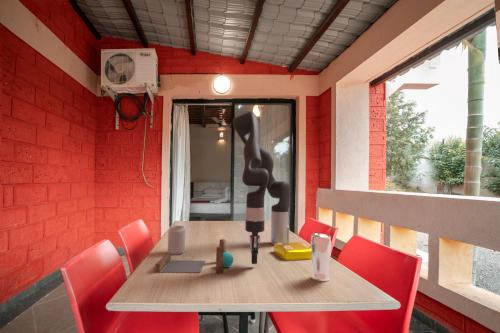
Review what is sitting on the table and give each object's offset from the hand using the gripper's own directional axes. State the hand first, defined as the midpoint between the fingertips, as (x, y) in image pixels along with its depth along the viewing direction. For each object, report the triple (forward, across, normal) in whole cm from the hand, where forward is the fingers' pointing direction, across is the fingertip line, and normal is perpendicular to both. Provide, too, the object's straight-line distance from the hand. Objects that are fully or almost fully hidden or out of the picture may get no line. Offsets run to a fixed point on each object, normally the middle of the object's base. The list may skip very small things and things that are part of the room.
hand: (254, 263), depth 106 cm
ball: (-1, 0, -11) cm, 11 cm away
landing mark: (+2, 0, -27) cm, 27 cm away
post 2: (+2, +6, -13) cm, 15 cm away
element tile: (+2, -18, +19) cm, 26 cm away
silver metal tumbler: (+2, +11, +23) cm, 26 cm away
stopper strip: (+2, 0, -35) cm, 35 cm away
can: (+2, -19, -35) cm, 40 cm away
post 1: (+2, -6, -13) cm, 15 cm away
